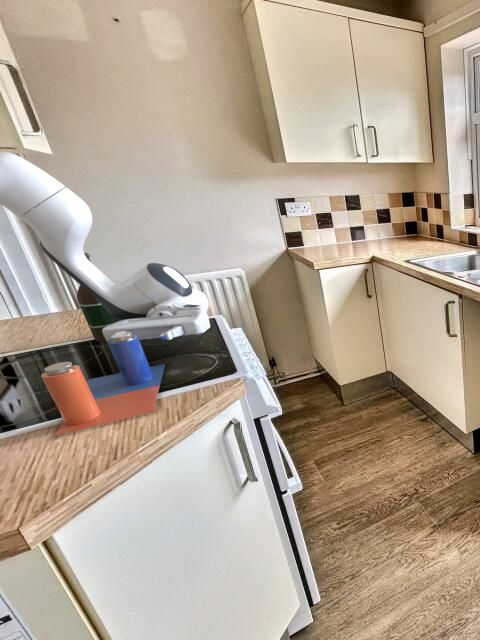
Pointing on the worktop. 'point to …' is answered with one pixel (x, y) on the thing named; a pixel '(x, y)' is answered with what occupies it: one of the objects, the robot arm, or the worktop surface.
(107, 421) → the sorting board
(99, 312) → the beer bottle
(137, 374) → the blue shaker
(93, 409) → the terracotta shaker
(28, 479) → the worktop surface
